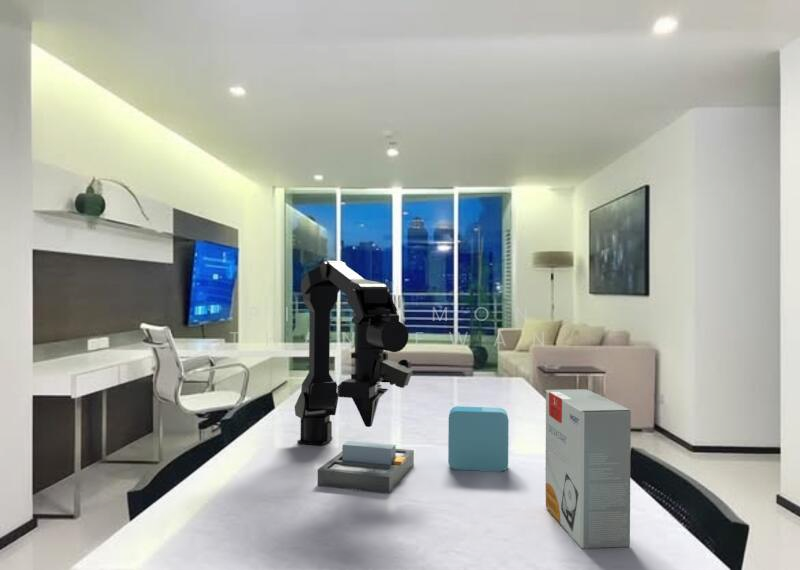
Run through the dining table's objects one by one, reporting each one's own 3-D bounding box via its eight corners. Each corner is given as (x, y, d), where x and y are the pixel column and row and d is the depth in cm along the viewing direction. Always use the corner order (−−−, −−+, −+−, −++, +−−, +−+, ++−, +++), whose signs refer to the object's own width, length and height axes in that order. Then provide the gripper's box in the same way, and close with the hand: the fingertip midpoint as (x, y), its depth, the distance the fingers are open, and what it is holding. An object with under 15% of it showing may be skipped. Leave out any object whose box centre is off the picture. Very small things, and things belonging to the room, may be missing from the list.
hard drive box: (543, 507, 96) (544, 389, 96) (587, 506, 97) (588, 388, 97) (580, 550, 80) (581, 408, 81) (632, 548, 81) (633, 408, 81)
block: (342, 475, 112) (342, 444, 112) (347, 470, 115) (348, 440, 115) (390, 480, 109) (391, 448, 109) (395, 475, 112) (395, 444, 112)
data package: (507, 465, 119) (507, 407, 119) (508, 472, 114) (508, 412, 114) (449, 462, 120) (449, 405, 120) (448, 469, 116) (448, 410, 116)
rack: (317, 485, 106) (317, 466, 106) (351, 458, 122) (351, 441, 122) (390, 493, 102) (390, 473, 102) (414, 464, 118) (414, 447, 118)
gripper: (395, 354, 101) (394, 442, 101) (420, 344, 119) (419, 418, 119) (336, 351, 104) (335, 437, 104) (369, 342, 122) (369, 415, 122)
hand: (368, 426), depth 112 cm, fingers closed
